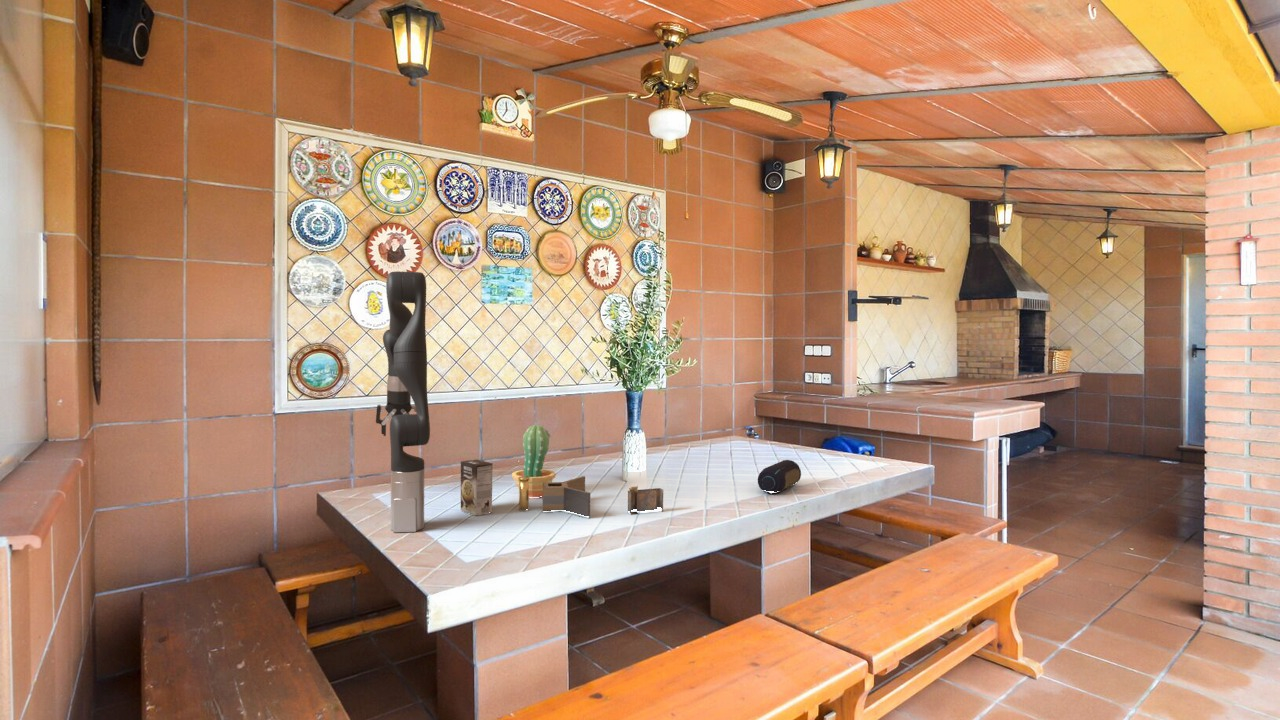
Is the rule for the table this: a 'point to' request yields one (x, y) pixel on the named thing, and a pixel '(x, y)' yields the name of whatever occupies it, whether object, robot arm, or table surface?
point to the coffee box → (476, 487)
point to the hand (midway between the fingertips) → (398, 435)
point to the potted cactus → (535, 460)
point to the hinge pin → (523, 492)
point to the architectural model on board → (645, 499)
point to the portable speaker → (779, 476)
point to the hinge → (566, 496)
